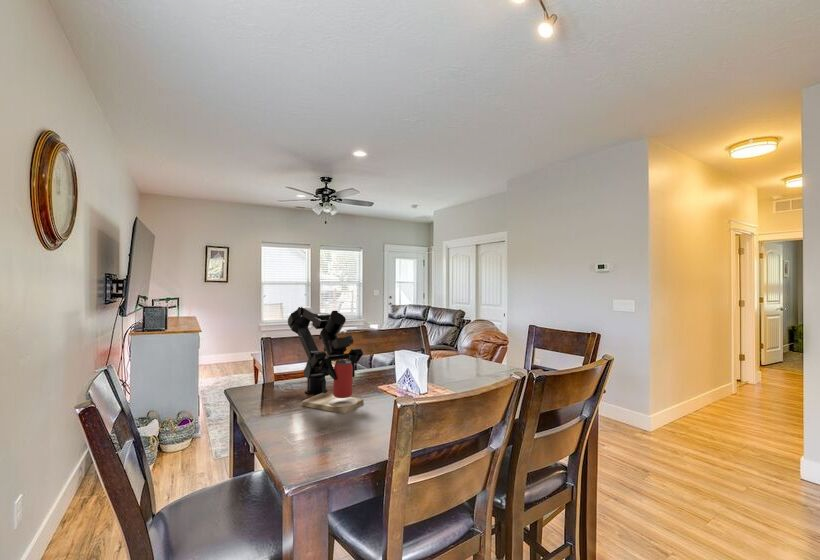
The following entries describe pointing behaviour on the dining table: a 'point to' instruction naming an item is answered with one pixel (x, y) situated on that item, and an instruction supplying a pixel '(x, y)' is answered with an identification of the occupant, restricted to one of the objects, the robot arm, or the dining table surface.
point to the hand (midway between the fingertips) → (345, 378)
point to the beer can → (343, 379)
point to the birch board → (332, 403)
